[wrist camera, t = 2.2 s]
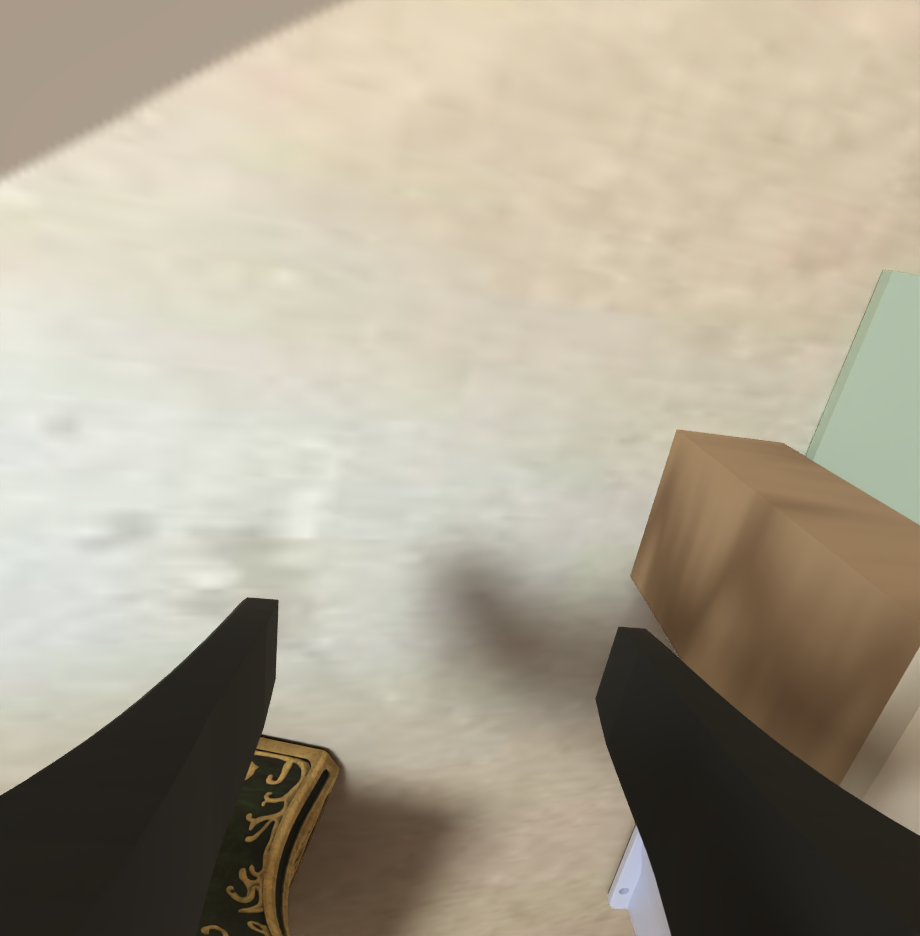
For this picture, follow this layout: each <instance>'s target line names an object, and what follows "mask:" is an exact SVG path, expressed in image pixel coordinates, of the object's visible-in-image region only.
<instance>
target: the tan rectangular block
mask: <svg viewBox="0 0 920 936" xmlns="http://www.w3.org/2000/svg"><path fill="white" fill-rule="evenodd" d="M631 578H632V580H633V581H634V583H635V585H636V586H637V588H638V589H639V591H640V593H641V594H642V596H643V598H644V599H645V601H646V603H647V604H648V606H649V607H650V609H651V611H652V612H653V614H654V616H655V617H656V619H657V621H658V622H659V624H660V625H661V627H662V629H663V630H664V632H665V634H666V635H667V637H668V638H669V640H670V642H671V643H672V645H673V647H674V648H675V650H676V652H677V653H678V655H679V656H680V658H681V660H682V661H683V662H684V663H685V664H686V665H687V666H688V667H689V668H691V669H692V670H693V671H694V672H695V673H696V674H697V675H698V676H699V677H701V678H702V679H703V680H704V681H705V682H706V683H707V684H708V685H709V686H711V687H712V688H713V689H714V690H715V691H716V692H717V693H719V694H720V695H721V696H722V697H723V698H724V699H725V700H727V701H728V702H729V703H730V704H731V705H732V706H734V707H735V708H736V709H737V710H738V711H740V712H741V713H742V714H743V715H744V716H745V717H747V718H748V719H749V720H750V721H752V722H753V723H754V724H755V725H757V726H758V727H759V728H760V729H762V730H763V731H764V732H765V733H767V734H768V735H769V736H770V737H771V738H773V739H774V740H775V741H777V742H778V743H779V744H781V745H782V746H783V747H785V748H786V749H787V750H789V751H790V752H791V753H793V754H794V755H795V756H797V757H798V758H800V759H801V760H802V761H804V762H805V763H807V764H808V765H809V766H811V767H812V768H814V769H815V770H816V771H818V772H819V773H821V774H822V775H823V776H825V777H826V778H828V779H829V780H831V781H832V782H834V783H835V784H837V785H838V786H840V787H841V788H843V789H844V790H846V791H847V792H849V793H850V794H852V795H854V796H855V797H857V798H858V799H860V800H862V801H863V802H865V803H866V804H868V805H869V806H871V807H873V808H874V809H876V810H877V811H879V812H881V813H882V814H884V815H885V816H887V817H889V818H890V819H892V820H894V821H895V822H897V823H899V824H901V825H902V826H904V827H906V828H907V829H909V830H911V831H913V832H914V833H916V834H918V835H920V525H919V524H917V523H915V522H914V521H912V520H910V519H909V518H907V517H905V516H904V515H902V514H900V513H899V512H897V511H895V510H894V509H892V508H890V507H889V506H887V505H885V504H884V503H882V502H880V501H879V500H877V499H875V498H874V497H872V496H870V495H869V494H867V493H865V492H864V491H862V490H860V489H859V488H857V487H855V486H854V485H852V484H850V483H849V482H847V481H845V480H844V479H842V478H840V477H839V476H837V475H835V474H834V473H832V472H830V471H829V470H827V469H825V468H824V467H822V466H820V465H819V464H817V463H815V462H814V461H812V460H810V459H809V458H807V457H805V456H804V455H802V454H800V453H799V452H797V451H795V450H794V449H792V448H790V447H789V446H787V445H785V444H784V443H779V442H771V441H763V440H755V439H747V438H739V437H732V436H724V435H716V434H708V433H700V432H692V431H685V430H677V431H676V434H675V437H674V440H673V443H672V446H671V450H670V453H669V456H668V459H667V462H666V465H665V469H664V472H663V475H662V478H661V481H660V484H659V487H658V491H657V494H656V497H655V500H654V503H653V506H652V510H651V513H650V516H649V519H648V522H647V525H646V528H645V532H644V535H643V538H642V541H641V544H640V547H639V550H638V554H637V557H636V560H635V563H634V566H633V569H632V573H631Z"/></svg>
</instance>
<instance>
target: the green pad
mask: <svg viewBox="0 0 920 936" xmlns="http://www.w3.org/2000/svg"><path fill="white" fill-rule="evenodd" d="M806 457H807V458H809V459H810V460H812V461H814V462H815V463H817V464H819V465H820V466H822V467H824V468H825V469H827V470H829V471H830V472H832V473H834V474H835V475H837V476H839V477H840V478H842V479H844V480H845V481H847V482H849V483H850V484H852V485H854V486H855V487H857V488H859V489H860V490H862V491H864V492H865V493H867V494H869V495H870V496H872V497H874V498H875V499H877V500H879V501H880V502H882V503H884V504H885V505H887V506H889V507H890V508H892V509H894V510H895V511H897V512H899V513H900V514H902V515H904V516H905V517H907V518H909V519H910V520H912V521H914V522H915V523H917V524H919V525H920V276H919V275H913V274H907V273H902V272H896V271H888V270H883V272H882V274H881V277H880V279H879V281H878V284H877V286H876V289H875V291H874V293H873V296H872V298H871V301H870V303H869V305H868V308H867V310H866V313H865V315H864V317H863V320H862V322H861V325H860V327H859V329H858V332H857V334H856V337H855V339H854V341H853V344H852V346H851V349H850V351H849V353H848V356H847V358H846V361H845V363H844V365H843V368H842V370H841V373H840V375H839V377H838V380H837V382H836V385H835V387H834V389H833V392H832V394H831V397H830V399H829V401H828V404H827V406H826V409H825V411H824V413H823V416H822V418H821V421H820V423H819V425H818V428H817V430H816V433H815V435H814V437H813V440H812V442H811V445H810V447H809V449H808V452H807V454H806Z"/></svg>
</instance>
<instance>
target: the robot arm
mask: <svg viewBox="0 0 920 936" xmlns="http://www.w3.org/2000/svg"><path fill="white" fill-rule="evenodd" d="M277 627H278V600H273V599H261V598H248V597H247V598H246V599H245V600H243V601H242V602H241V603H240V604H239V605H238V606H237V607H236V608H235V609H234V610H233V612H232V613H231V614H230V615H229V616H228V617H227V618H226V619H225V620H224V621H223V622H222V623H221V624H220V625H219V626H218V627H217V628H216V629H215V630H214V631H213V632H212V633H211V634H210V635H209V637H208V638H207V639H206V640H205V641H204V642H203V643H201V644H200V645H199V646H198V647H197V648H196V649H195V650H194V651H193V652H192V653H191V654H190V655H189V656H188V657H187V658H186V659H185V660H184V661H183V662H182V663H180V664H179V665H178V666H177V667H176V668H175V669H174V670H173V671H172V672H171V673H170V674H168V675H167V676H166V677H165V678H164V679H163V680H161V681H160V682H159V683H158V684H157V685H156V686H154V687H153V688H152V689H151V690H150V691H149V692H147V693H146V694H145V695H144V696H143V697H142V698H140V699H139V700H138V701H137V702H136V703H134V704H133V705H132V706H131V707H129V708H128V709H127V710H126V711H124V712H123V713H122V714H121V715H119V716H118V717H117V718H115V719H114V720H113V721H111V722H110V723H109V724H107V725H106V726H105V727H103V728H102V729H101V730H99V731H98V732H97V733H95V734H94V735H93V736H91V737H90V738H88V739H87V740H86V741H84V742H83V743H81V744H80V745H78V746H77V747H76V748H74V749H73V750H71V751H70V752H68V753H67V754H65V755H64V756H62V757H61V758H59V759H58V760H56V761H55V762H53V763H52V764H50V765H49V766H47V767H46V768H44V769H42V770H41V771H39V772H38V773H36V774H35V775H33V776H32V777H30V778H29V779H27V780H26V781H24V782H22V783H21V784H19V785H17V786H16V787H14V788H12V789H11V790H9V791H7V792H6V793H4V794H2V795H0V936H196V933H197V929H198V925H199V921H200V918H201V914H202V910H203V907H204V903H205V899H206V895H207V892H208V888H209V884H210V880H211V877H212V873H213V869H214V866H215V863H216V860H217V857H218V854H219V851H220V848H221V844H222V841H223V839H224V836H225V833H226V830H227V828H228V825H229V822H230V819H231V817H232V814H233V811H234V808H235V806H236V803H237V800H238V797H239V795H240V792H241V789H242V786H243V784H244V781H245V778H246V776H247V773H248V770H249V767H250V765H251V762H252V759H253V756H254V753H255V751H256V748H257V745H258V742H259V739H260V737H261V734H262V731H263V728H264V724H265V720H266V716H267V712H268V708H269V704H270V700H271V696H272V692H273V687H274V683H275V679H276V653H277ZM596 703H597V707H598V712H599V716H600V721H601V725H602V729H603V733H604V737H605V741H606V745H607V748H608V751H609V753H610V756H611V759H612V762H613V764H614V767H615V770H616V773H617V775H618V778H619V781H620V783H621V786H622V789H623V791H624V794H625V797H626V799H627V802H628V804H629V807H630V810H631V812H632V815H633V818H634V820H635V823H636V826H635V829H634V831H633V834H632V836H631V839H630V841H629V844H628V846H627V849H626V851H625V854H624V856H623V859H622V861H621V864H620V866H619V869H618V871H617V874H616V876H615V879H614V881H613V884H612V886H611V889H610V891H609V894H608V897H607V899H608V902H609V905H610V907H612V908H614V909H628V912H629V915H630V918H631V922H632V925H633V928H634V931H635V935H636V936H920V835H918V834H916V833H914V832H913V831H911V830H909V829H907V828H906V827H904V826H902V825H901V824H899V823H897V822H895V821H894V820H892V819H890V818H889V817H887V816H885V815H884V814H882V813H881V812H879V811H877V810H876V809H874V808H873V807H871V806H869V805H868V804H866V803H865V802H863V801H862V800H860V799H858V798H857V797H855V796H854V795H852V794H850V793H849V792H847V791H846V790H844V789H843V788H841V787H840V786H838V785H837V784H835V783H834V782H832V781H831V780H829V779H828V778H826V777H825V776H823V775H822V774H821V773H819V772H818V771H816V770H815V769H814V768H812V767H811V766H809V765H808V764H807V763H805V762H804V761H802V760H801V759H800V758H798V757H797V756H795V755H794V754H793V753H791V752H790V751H789V750H787V749H786V748H785V747H783V746H782V745H781V744H779V743H778V742H777V741H775V740H774V739H773V738H771V737H770V736H769V735H768V734H767V733H765V732H764V731H763V730H762V729H760V728H759V727H758V726H757V725H755V724H754V723H753V722H752V721H750V720H749V719H748V718H747V717H745V716H744V715H743V714H742V713H741V712H740V711H738V710H737V709H736V708H735V707H734V706H732V705H731V704H730V703H729V702H728V701H727V700H725V699H724V698H723V697H722V696H721V695H720V694H719V693H717V692H716V691H715V690H714V689H713V688H712V687H711V686H709V685H708V684H707V683H706V682H705V681H704V680H703V679H702V678H701V677H699V676H698V675H697V674H696V673H695V672H694V671H693V670H692V669H691V668H689V667H688V666H687V665H686V664H685V663H684V662H683V661H682V660H681V659H680V658H678V657H677V656H676V655H675V654H674V653H673V652H672V651H671V650H670V649H668V648H667V647H666V646H665V645H664V644H663V643H662V642H661V641H659V640H658V639H657V638H656V637H655V636H653V635H652V634H651V633H650V632H649V631H647V630H646V629H641V628H628V627H618V630H617V633H616V636H615V640H614V643H613V646H612V649H611V652H610V655H609V658H608V661H607V664H606V668H605V671H604V674H603V677H602V680H601V683H600V686H599V689H598V692H597V696H596Z"/></svg>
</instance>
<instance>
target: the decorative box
mask: <svg viewBox="0 0 920 936" xmlns="http://www.w3.org/2000/svg"><path fill="white" fill-rule="evenodd" d="M338 771H339V767H338V766H337V764H336V763H335V762H334V761H333V759H332V758H331V757H330V755H329V754H328V753H327V752H326V751H324V750H320V749H315V748H310V747H305V746H301V745H296V744H291V743H286V742H281V741H276V740H271V739H267V738H262V737H260V739H259V742H258V745H257V748H256V751H255V753H254V756H253V759H252V762H251V765H250V767H249V770H248V773H247V776H246V778H245V781H244V784H243V786H242V789H241V792H240V795H239V797H238V800H237V803H236V806H235V808H234V811H233V814H232V817H231V819H230V822H229V825H228V828H227V830H226V833H225V836H224V839H223V841H222V844H221V848H220V851H219V854H218V857H217V860H216V863H215V866H214V869H213V873H212V877H211V880H210V884H209V888H208V892H207V895H206V899H205V903H204V907H203V910H202V914H201V918H200V921H199V925H198V929H197V933H196V936H291V935H290V931H289V925H288V917H287V902H288V892H289V890H290V887H291V885H292V883H293V880H294V878H295V875H296V873H297V871H298V868H299V866H300V864H301V861H302V859H303V857H304V854H305V852H306V850H307V847H308V845H309V842H310V840H311V838H312V835H313V833H314V831H315V828H316V826H317V824H318V821H319V819H320V817H321V814H322V812H323V809H324V807H325V805H326V802H327V800H328V798H329V795H330V793H331V791H332V788H333V786H334V784H335V781H336V779H337V776H338Z"/></svg>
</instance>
